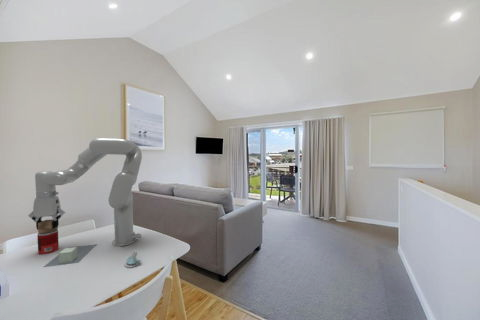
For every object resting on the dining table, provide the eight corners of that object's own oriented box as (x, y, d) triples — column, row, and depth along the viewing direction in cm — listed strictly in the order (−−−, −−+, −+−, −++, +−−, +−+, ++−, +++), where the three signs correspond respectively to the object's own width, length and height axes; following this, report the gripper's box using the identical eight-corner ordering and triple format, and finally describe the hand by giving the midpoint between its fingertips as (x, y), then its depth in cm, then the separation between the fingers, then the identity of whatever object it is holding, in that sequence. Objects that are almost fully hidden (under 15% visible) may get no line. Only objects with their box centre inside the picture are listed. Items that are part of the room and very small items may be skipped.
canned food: (62, 248, 110) (61, 228, 110) (47, 255, 102) (46, 234, 102) (50, 247, 111) (49, 228, 111) (34, 255, 103) (33, 234, 103)
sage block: (77, 256, 100) (76, 247, 100) (71, 262, 95) (71, 251, 95) (65, 258, 99) (65, 248, 99) (59, 263, 94) (58, 253, 94)
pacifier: (129, 270, 89) (142, 263, 94) (129, 256, 89) (142, 250, 94) (121, 265, 93) (134, 259, 98) (120, 252, 93) (133, 247, 98)
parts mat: (97, 244, 114) (97, 244, 114) (78, 263, 95) (78, 262, 95) (68, 247, 111) (68, 247, 111) (42, 268, 91) (42, 267, 91)
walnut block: (57, 228, 110) (57, 218, 110) (51, 232, 104) (50, 222, 104) (45, 229, 108) (45, 219, 108) (38, 233, 103) (37, 223, 103)
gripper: (69, 192, 111) (70, 224, 112) (31, 194, 107) (33, 227, 108) (61, 195, 104) (62, 229, 105) (20, 197, 100) (22, 232, 101)
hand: (47, 227), depth 106 cm, fingers open, 6 cm apart
